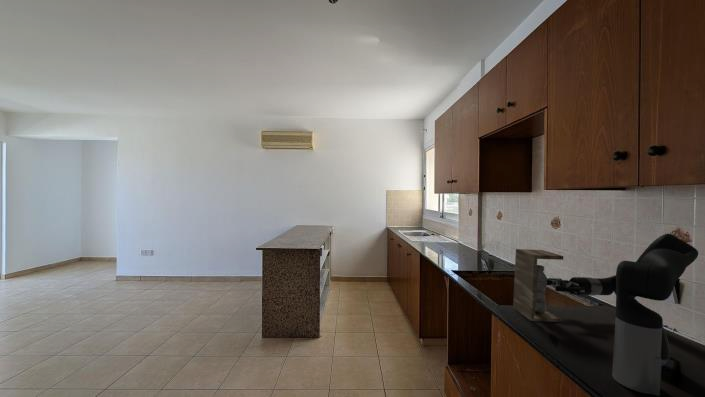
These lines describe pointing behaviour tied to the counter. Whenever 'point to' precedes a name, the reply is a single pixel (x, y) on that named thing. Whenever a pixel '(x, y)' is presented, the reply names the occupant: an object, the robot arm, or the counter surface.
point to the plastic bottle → (540, 290)
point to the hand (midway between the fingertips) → (548, 285)
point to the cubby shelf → (529, 283)
